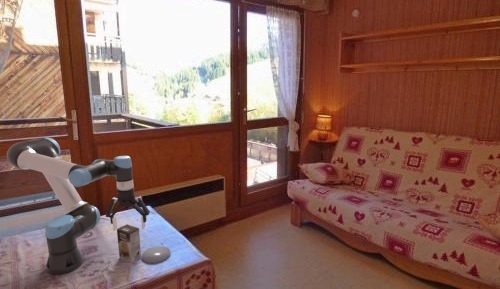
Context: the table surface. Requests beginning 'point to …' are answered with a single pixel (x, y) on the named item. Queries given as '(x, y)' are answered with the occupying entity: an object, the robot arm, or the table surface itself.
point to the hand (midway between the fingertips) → (129, 228)
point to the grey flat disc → (155, 254)
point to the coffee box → (129, 243)
